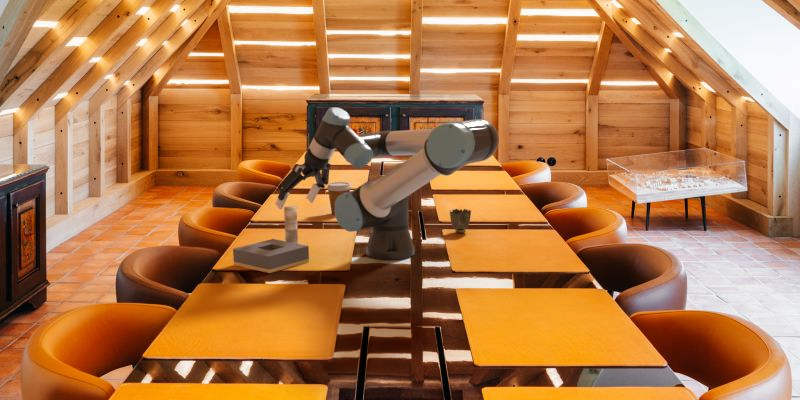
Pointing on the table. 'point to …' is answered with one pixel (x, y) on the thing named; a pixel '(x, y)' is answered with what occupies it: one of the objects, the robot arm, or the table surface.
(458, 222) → the cup
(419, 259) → the table surface
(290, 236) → the birch peg
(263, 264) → the socket block
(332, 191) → the disposable coffee cup
